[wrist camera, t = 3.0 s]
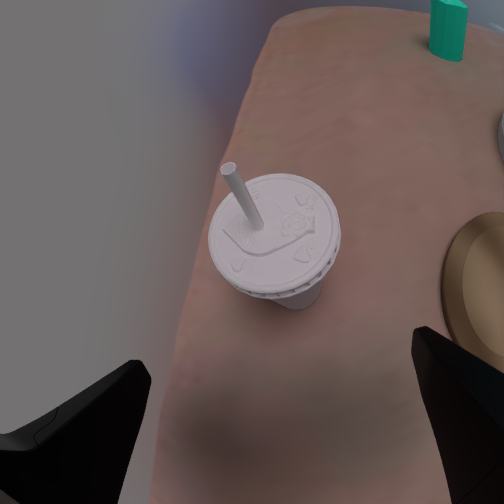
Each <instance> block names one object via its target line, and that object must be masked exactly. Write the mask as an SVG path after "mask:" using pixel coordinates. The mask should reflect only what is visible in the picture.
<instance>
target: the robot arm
mask: <svg viewBox="0 0 504 504" xmlns="http://www.w3.org/2000/svg"><path fill="white" fill-rule="evenodd" d="M411 354H412V359H413V362H414V366H415V370H416V374H417V378H418V383H419V387H420V391H421V395H422V399H423V402H424V405H425V408H426V411H427V414H428V417H429V420H430V423H431V426H432V429H433V432H434V435H435V439H436V442H437V446H438V449H439V453H440V456H441V460H442V464H443V467H444V471H445V475H446V479H447V484H448V488H449V493H450V497H451V502H452V504H504V373H502V372H501V371H499V370H498V369H496V368H495V367H493V366H491V365H490V364H488V363H487V362H485V361H483V360H482V359H480V358H479V357H477V356H475V355H474V354H472V353H470V352H469V351H467V350H466V349H464V348H462V347H461V346H459V345H457V344H456V343H454V342H452V341H451V340H449V339H447V338H446V337H444V336H443V335H441V334H439V333H438V332H436V331H434V330H433V329H431V328H429V327H427V326H423V327H419V328H416V329H414V331H413V338H412V347H411ZM150 386H151V376H150V374H149V373H148V371H147V369H146V367H145V366H144V364H143V362H142V361H140V360H129V361H128V362H126V363H125V364H123V365H122V366H120V367H119V368H117V369H116V370H114V371H113V372H111V373H110V374H108V375H106V376H105V377H103V378H102V379H100V380H99V381H97V382H96V383H94V384H93V385H91V386H89V387H88V388H86V389H85V390H83V391H82V392H80V393H79V394H77V395H75V396H74V397H73V398H71V399H69V400H68V401H66V402H64V403H63V404H61V405H60V406H58V407H56V408H55V409H53V410H52V411H50V412H48V413H47V414H45V415H44V416H42V417H40V418H38V419H36V420H34V421H32V422H31V423H29V424H27V425H25V426H23V427H21V428H19V429H17V430H15V431H13V432H10V433H7V434H0V504H118V500H119V496H120V492H121V489H122V486H123V482H124V479H125V475H126V472H127V468H128V465H129V462H130V458H131V455H132V452H133V449H134V445H135V442H136V439H137V436H138V433H139V430H140V426H141V424H142V420H143V417H144V413H145V409H146V403H147V399H148V395H149V390H150Z"/></svg>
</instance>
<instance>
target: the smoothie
mask: <svg viewBox="0 0 504 504" xmlns="http://www.w3.org/2000/svg"><path fill="white" fill-rule="evenodd" d="M221 173H222V175H223V176H224V178H225V180H226V182H227V183H228V185H229V187H230V189H231V190H232V192H231V193H230V194H229V195H228V196H227V197H226V198H225V199H224V200H223V201H222V202H221V204H220V205H219V207H218V208H217V210H216V212H215V214H214V216H213V218H212V221H211V224H210V228H209V235H208V243H209V250H210V254H211V257H212V260H213V262H214V264H215V266H216V267H217V269H218V270H219V271H220V273H221V274H222V275H223V276H224V277H225V279H226V280H227V281H228V282H229V283H230V284H232V285H233V286H234V287H235V288H236V289H237V290H239V291H241V292H244V293H246V294H248V295H250V296H253V297H258V298H265V299H270V300H272V301H274V302H276V303H278V304H280V305H282V306H284V307H286V308H289V309H293V310H299V309H304V308H306V307H308V306H310V305H311V304H313V303H314V302H315V301H316V299H317V298H318V296H319V294H320V291H321V287H322V284H323V281H324V277H325V274H326V273H327V272H328V270H329V269H330V268H331V266H332V265H333V263H334V261H335V258H336V256H337V253H338V251H339V248H340V238H341V230H340V225H339V218H338V214H337V210H336V208H335V206H334V203H333V202H332V200H331V198H330V197H329V196H328V194H327V193H326V192H325V191H324V190H323V189H322V188H321V187H319V186H318V185H317V184H315V183H314V182H312V181H310V180H308V179H306V178H303V177H300V176H297V175H292V174H269V175H264V176H260V177H257V178H254V179H251V180H249V181H247V182H245V183H244V181H243V179H242V177H241V175H240V173H239V171H238V169H237V167H236V165H235V164H234V163H232V162H229V163H226V164H224V165H223V166H222V167H221Z"/></svg>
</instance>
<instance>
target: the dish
mask: <svg viewBox="0 0 504 504" xmlns="http://www.w3.org/2000/svg"><path fill="white" fill-rule="evenodd" d="M497 137H498V143H499V148H500V154H501V156H502V159H503V161H504V113H503V115H502V118H501V121H500V123H499V128H498V135H497Z"/></svg>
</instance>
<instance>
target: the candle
mask: <svg viewBox="0 0 504 504" xmlns="http://www.w3.org/2000/svg"><path fill="white" fill-rule="evenodd" d="M467 14H468V7H467V6H466V5H465V4H463V3H462V2H461V1H459V0H431V19H430V38H429V50H430V51H431V52H432V53H433V54H435V55H437V56H439V57H441V58H443V59H446V60H449V61H456V62H458V61H460V60H462V55H463V49H464V42H465V34H466V25H467Z"/></svg>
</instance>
